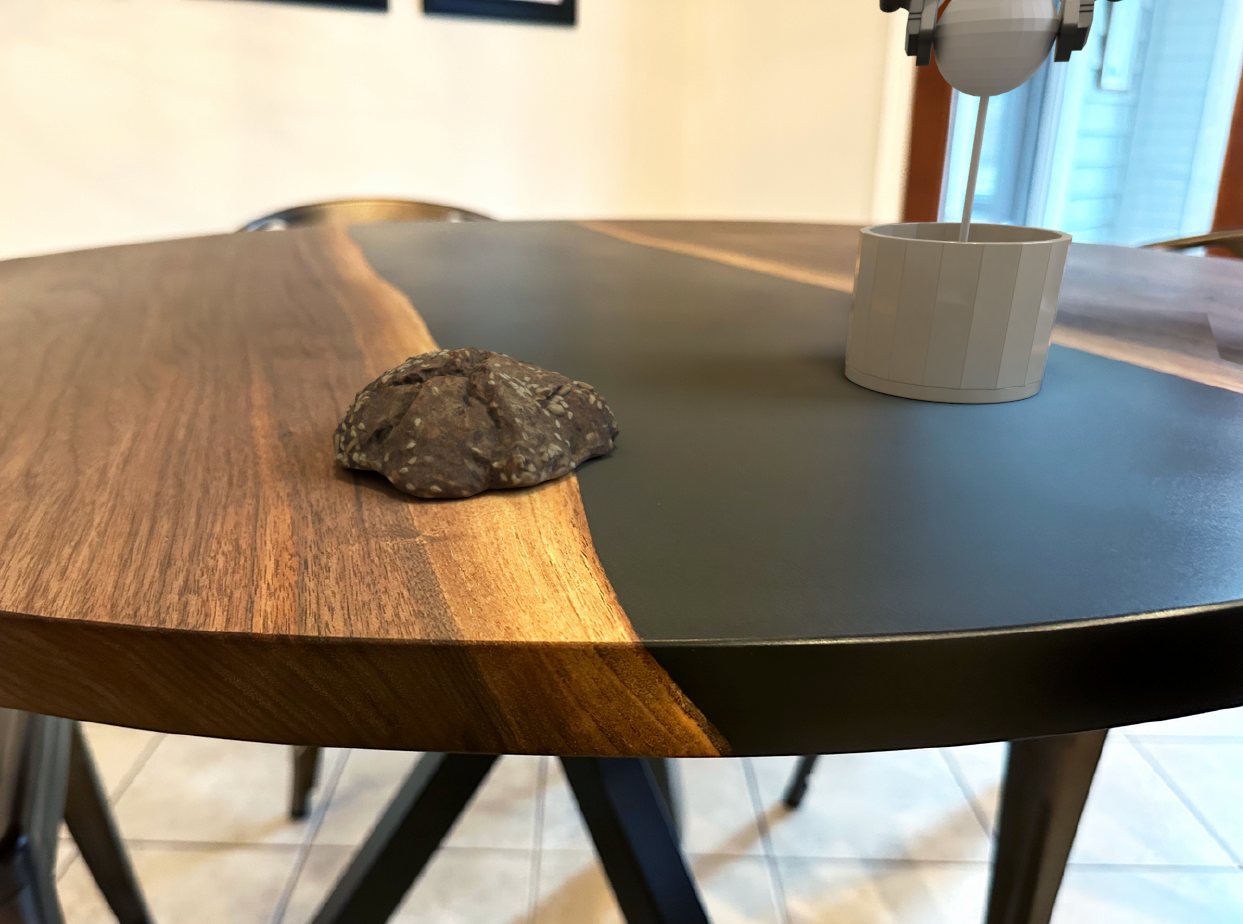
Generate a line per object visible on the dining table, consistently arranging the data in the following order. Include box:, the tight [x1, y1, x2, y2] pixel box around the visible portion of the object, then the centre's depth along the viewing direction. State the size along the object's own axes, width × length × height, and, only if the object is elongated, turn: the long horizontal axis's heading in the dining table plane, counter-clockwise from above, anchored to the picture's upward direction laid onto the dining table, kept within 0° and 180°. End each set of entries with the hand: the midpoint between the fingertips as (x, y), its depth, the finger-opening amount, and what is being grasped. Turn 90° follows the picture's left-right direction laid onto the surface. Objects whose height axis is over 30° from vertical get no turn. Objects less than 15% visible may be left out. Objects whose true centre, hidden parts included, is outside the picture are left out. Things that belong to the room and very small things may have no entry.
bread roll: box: [332, 346, 621, 499], centre depth 44 cm, size 13×12×5 cm
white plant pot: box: [844, 221, 1074, 404], centre depth 55 cm, size 11×11×8 cm
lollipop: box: [932, 0, 1059, 242], centre depth 51 cm, size 6×6×15 cm
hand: (993, 49), depth 48 cm, fingers closed on lollipop, 6 cm apart
